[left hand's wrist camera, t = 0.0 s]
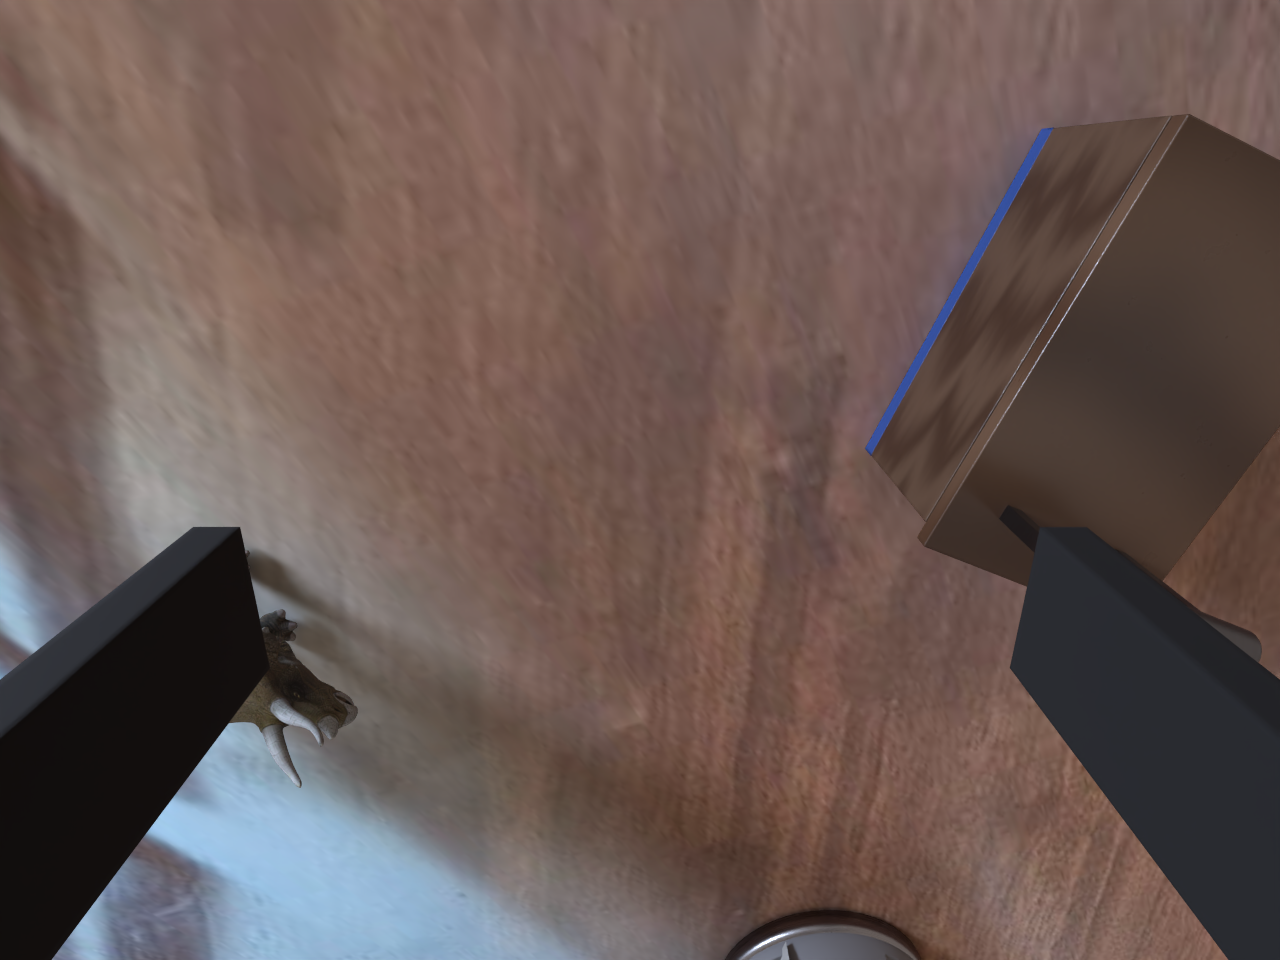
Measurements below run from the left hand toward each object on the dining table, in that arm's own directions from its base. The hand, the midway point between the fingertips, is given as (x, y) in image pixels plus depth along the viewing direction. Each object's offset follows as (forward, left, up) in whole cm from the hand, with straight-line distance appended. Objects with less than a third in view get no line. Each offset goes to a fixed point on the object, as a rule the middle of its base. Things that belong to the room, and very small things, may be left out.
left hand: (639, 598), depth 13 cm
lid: (-2, -20, -19) cm, 27 cm away
